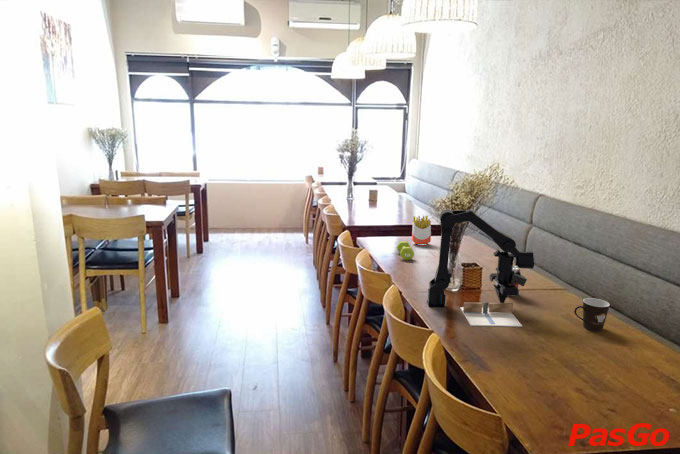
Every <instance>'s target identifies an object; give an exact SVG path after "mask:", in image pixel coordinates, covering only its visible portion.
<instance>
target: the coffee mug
mask: <svg viewBox="0 0 680 454" xmlns="http://www.w3.org/2000/svg"><path fill="white" fill-rule="evenodd" d="M610 305H611V304H610V303H609V302H608V301H606V300H604V299H601V298H600V299H599V298H595V297H593V298H592V297H588V298H587V297H586V298H583V300H582V305H580V306H579V305H578V306H576V307H575V308H574V311H573V312H574V313H573V314H574V316H576V317H577V318H578V319H580V320H581V321H582V326H583V329H586V330H588V331H590V332H594V333H596V332H597V333H600V332H602V331H603V329H604V326H605V323H606V320H607V316H608V312H609V309H610ZM580 308H581V309H582V317H580V316H579V315H578V314H577V311H578V309H580Z"/></svg>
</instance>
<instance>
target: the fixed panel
mask: <svg viewBox="0 0 680 454" xmlns="http://www.w3.org/2000/svg"><path fill="white" fill-rule="evenodd" d="M463 307H464V309H463V311H464V312H482V308H483V313H484V314H487V313H488V308H489V302H488V301H483V302H469V301H467V302H465V301H463Z"/></svg>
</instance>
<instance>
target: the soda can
mask: <svg viewBox="0 0 680 454" xmlns="http://www.w3.org/2000/svg"><path fill="white" fill-rule="evenodd" d="M512 270H513V271H515V270H517V271H519V272H520V273H521V268H517V265H513V269H512ZM510 285H514V286H515V287H516V288H517V289H518V290H520V285H519V284H516V283H514V284H510ZM516 296H517V295H507V297H516Z"/></svg>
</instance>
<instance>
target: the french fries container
mask: <svg viewBox="0 0 680 454" xmlns="http://www.w3.org/2000/svg"><path fill="white" fill-rule="evenodd" d="M431 223H432V221H431V219H430V218H429V217H428V215H422V217H421V215H418V217H416V216H413V219H412V229H411V230H412V231H411V241H412V242H413V243H414V244H415V245H416V244H427V245H428V244H430V243H431V241H432V231H431V229H432V226H431V225H432V224H431Z"/></svg>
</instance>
